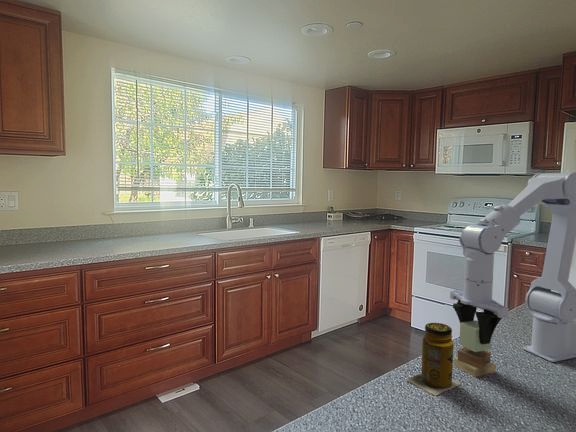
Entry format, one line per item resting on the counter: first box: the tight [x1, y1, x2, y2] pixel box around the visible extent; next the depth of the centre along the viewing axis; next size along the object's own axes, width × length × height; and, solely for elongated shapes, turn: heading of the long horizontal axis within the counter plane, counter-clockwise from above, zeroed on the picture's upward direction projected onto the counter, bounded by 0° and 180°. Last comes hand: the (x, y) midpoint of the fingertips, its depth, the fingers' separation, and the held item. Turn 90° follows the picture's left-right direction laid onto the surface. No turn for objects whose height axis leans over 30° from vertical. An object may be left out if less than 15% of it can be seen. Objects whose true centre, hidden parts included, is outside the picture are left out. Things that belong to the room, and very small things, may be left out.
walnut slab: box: [457, 346, 492, 368], centre depth 88 cm, size 5×5×2 cm
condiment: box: [405, 322, 462, 397], centre depth 81 cm, size 7×8×12 cm
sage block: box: [459, 319, 492, 352], centre depth 87 cm, size 4×4×5 cm
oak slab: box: [453, 356, 497, 378], centre depth 88 cm, size 6×6×2 cm
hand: (475, 338), depth 87 cm, fingers closed on sage block, 4 cm apart
